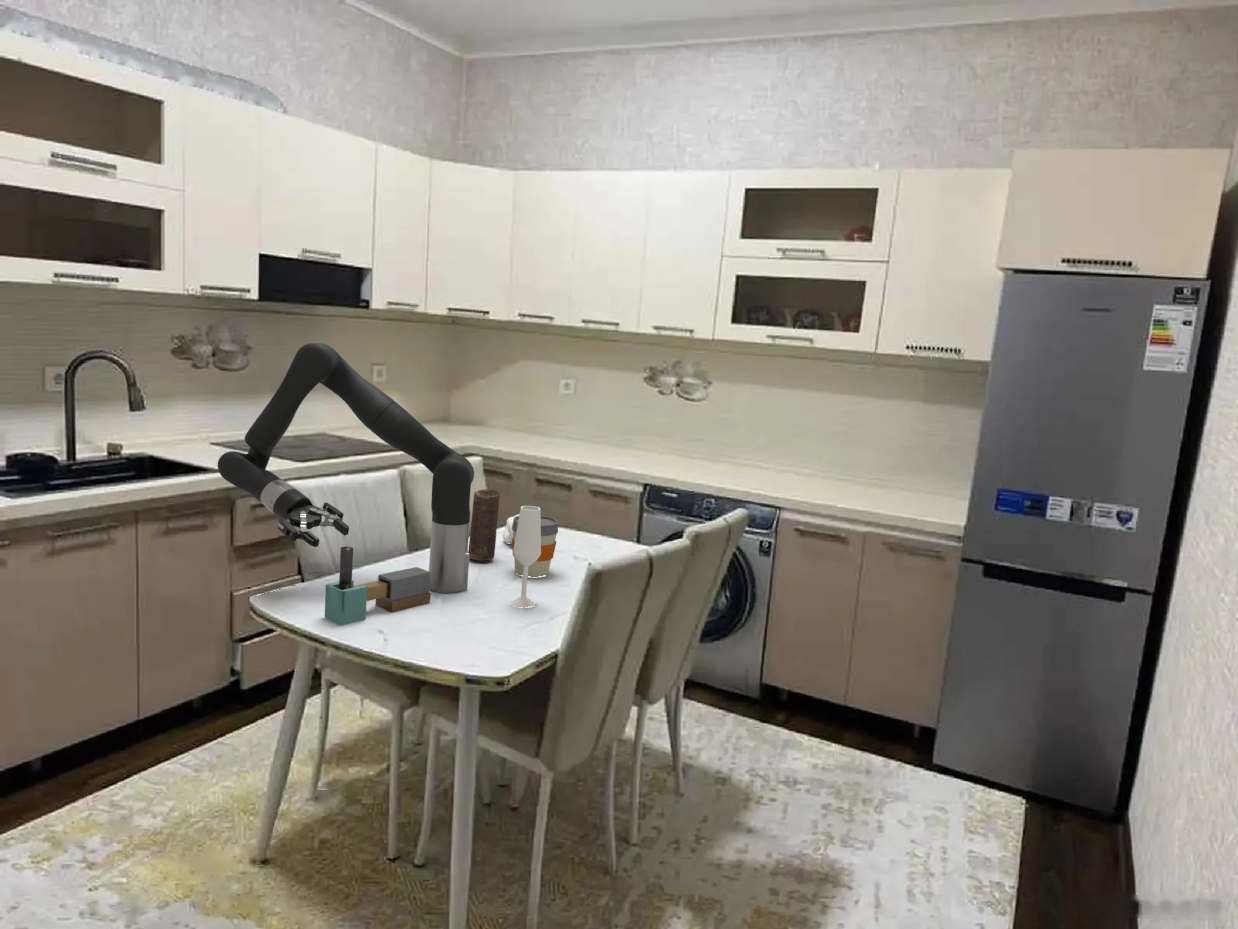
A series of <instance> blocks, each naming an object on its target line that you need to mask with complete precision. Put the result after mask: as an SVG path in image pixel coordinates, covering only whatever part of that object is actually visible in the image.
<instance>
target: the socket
mask: <svg viewBox="0 0 1238 929" xmlns="http://www.w3.org/2000/svg"><path fill="white" fill-rule="evenodd" d="M354 582H355V581H354V580H353V579H352V586H355V584H354ZM324 597H325V598H324V599H325V600H324V601H325V602H324V618H325V619H327V620H329V621H330V622H333V623H335V624H338V625H339V626H344V625H348V624H353V623H356V622H361V621H364V620H366V619H367V602H368V601H367V586H364V585H363V586H359V587H354V588H349V589H344V590H340V589H339V581H337V582H332V583H326V584H325V596H324Z"/></svg>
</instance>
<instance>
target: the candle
mask: <svg viewBox="0 0 1238 929" xmlns="http://www.w3.org/2000/svg"><path fill="white" fill-rule="evenodd" d="M500 495H501V492H500V491H498V490H496V489H490V488H483V489H478V490H476V491H474V492H473V502H472V512H471V520H470V521H471V523H470V531H469V540H468V552H469V560H471V559H472V560H473V561H475V562H479V563H480V562H485V561H490V560H493V559H494V558H495V554H496V553H495V552H496V543H497V542H496V540H497V530H498V521H499V520H498V519H499V508H500V499H501V498H500V497H501V496H500Z"/></svg>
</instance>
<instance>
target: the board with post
mask: <svg viewBox="0 0 1238 929" xmlns="http://www.w3.org/2000/svg"><path fill="white" fill-rule="evenodd" d="M353 561H354V547H352V546H341V547H340V559H339V574H338V575H339V579H338V582H339V589H340V590H344V589H349V588H354V587H359V586H363V585H364V586H367V602H369V601H373V600H374V601H375V600H376V599H378V598H383V597H387V596H389V595H390V582H388V581H386V580H379V581H378V580H375V581H371V582H365V583H360V584H357V585H353V586H352V580H353V566H354V565H353Z"/></svg>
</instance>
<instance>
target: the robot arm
mask: <svg viewBox="0 0 1238 929" xmlns="http://www.w3.org/2000/svg"><path fill="white" fill-rule="evenodd" d="M318 384H321V385H323V386H324V387H326V388H327V389H328V390H330V391H331V392H333V393H334V394H335V395H336V396H338V397H339V398H340V399H341V400H343V401H344V403H345V404H346V405H347V407H348V408H350V410H351V411H352V413H353V414H354V415H355V416H356V418H357V419H358V420H359V421H360V422H361V423H362V424H363V425H364V426H365V428H367V429H368V430H369V431H371V432H372V433H373V434H374V435H376V436H377V437H378V438H379V439H381V440H382V441H384V443H386V444H388V445H390V446H391V447H393V448H394V449H396V450H398V451H399V452H401V453H404V454H406V455H408V456H411V458H414V459H416V460H417V461H418V462H419V463H420V464H422V465H423V466H424V467H425V468H426V469H427V470H428V471H429V472H430V473H431V474H433V476H432V480H431V481H432V483H431V506H430V507H431V528H430V529H431V531H430V532H431V533H430V545H429V546H430V548H429V549H430V550H429V562H428V571H429V572H430V588H429V590H431V591H433V592H437V593H442V594H445V593H447V594H451V593H459V592H463V591H468V582H469V581H468V580H469V567H470V566H469V565H470V558H469V552H468V550H469V539H470V524H471V523H470V521H471V509H470V508H471V507H470V506H471V505H470V502H471V501H470V500H471V490H472V489H471V486H472V483H473V481H474V478H475V470H474V467H473V464H472V463H471V462H470V461H469V459H467V458H466V457H464V456H463V455H462V454H460V453H458V452H457V451H456V450H454V449H453V448H451V447H449V446H448V445H446V444H445V443H443V442H442V441H441V440H439V439H438V438H437V437H436V436H435V435H433V434H432V432H430V431H429V430H428V428H426V427H425V426H424V425H423V424H422V423H421V422H420V421H419V420H418V419H416V418H415V417H414V416H413V415H412V414H411V413H410V412H409V411H407V410H406V409H405V408H404V407H403V406H402V405H400V404H399V402H397V401H395V400H394V399H393V398H392V397H390V396H389V395H387V394H386V393H385V392H384V391H383V390H381V389H379V388H378V387H377V386H375V385H374V384H372V382H370V381H368V380H366V378H364V377H363V376H362V375H360V373H358V372H357V371H356V370H355V369H354V368H353V367H352V366H351V365H350V364H349V363H348V362H347V361H346V360H345V359H344V358H343V357H342V356H341V355H340V353H338V352H337V351H336V349H334V348H333V347H331V346H330V345H328V344H325V343H320V342H310V343H309V342H308V343H307V344H304V345H302V346H301V347H299V349H298V350H297V351H296V353H295V355H294V358H293V359H292V361H291V363H290V366H289V368H288V370H287V372H286V374H285V376H284V377H283V379H282V381H281V383H280V385H279V387H278V388H277V389H276V391H275V393H274V394H273V396H272V397H271V399H270V400H269V402H268V403H267V404H266V406H265V407H264V408H263V410H262V411H261V412H260V414H259V415H258V416H257V418H256V419H255V421H254V422H253V424H252V425H251V426H250V428H249V429H248V430H247V432H246V434H245V435H244V442H245V444H247V445H248V447H249V449H248V452H247V453H243V452H240V451H235V450H233V451H231V450H230V451H227V452H225V453H223V454H222V455H220V457H219V459H218V461H217V470H218V473H219V475H220V476H221V477H222V479H224V480H225V481H227V482H228V483H230V484H232V485H233V486H236V487H237V488H239V489H241V490H243V491H245V492H247V493H248V494H250V495H251V496H252V497H253V498H255V499H256V500H257V501H258V502H260V503H261V504H262V505H263V506H264V507H265V508H266V509H267V510H268V511H270V512H271V513H272V514H273V515H275V516H276V517H277V518H279V519H278V525H277V529H278V530H279V531H280V532H281V533H282V534H283V535H285V536H286V537H287V538H288V539H289V540H290V541H291V542H296V541H297V540H301V541H304V542H305V543H307V544H308V545H309V546H311V547H314V548H317V547H319V544H320V539H319V537H318V536H316V535H315V534H313V533H312V532H311V531H310V530H312V529H313V528H316V527H319V526H320V527H324V528H326V527H332V528H334V529H335V530H336V531H338V532H339V533H341V534H342V535H343V536H348V535H349V532H350V526H349V525H348V524H346V523H345V522H344V521H343V519H344V513H343V512H342V511H340V510H339V509H338V508H336V507H334V506H333V505H331V503H329V502H324V503H323V504H322V506H320V507H318V506H315V505H313V503H312V501H311V500H310V498H309V497H307V495H304V493H302V492H301V491H300V490H298V489H297V488H295V487H294V486H292V485H291V484H290V483H288V482H286V481H284V480H283V479H282V478H280V477H279V476H278V475H276V474H275V473H273V472H271V471H269V470H267V466H268V464H269V462H270V459H271V456H272V453H273V450H274V448H276V446H277V444H278V443H279V442H280V440H281V439H282V437H284V435H285V433H286V432H287V431H288V429H289V427H290V425H291V424H292V422H293V420H294V418H295V415H296V413H297V411H298V409H299V408H300V406H301V404H302V403H303V401H304V400H305V398H306V397H307V396H308V394H310V393H311V391H312V390H314V389H315V387H316V386H317V385H318ZM323 517H324V521H323ZM330 520H332V521H330ZM296 528H297V529H296Z"/></svg>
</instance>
